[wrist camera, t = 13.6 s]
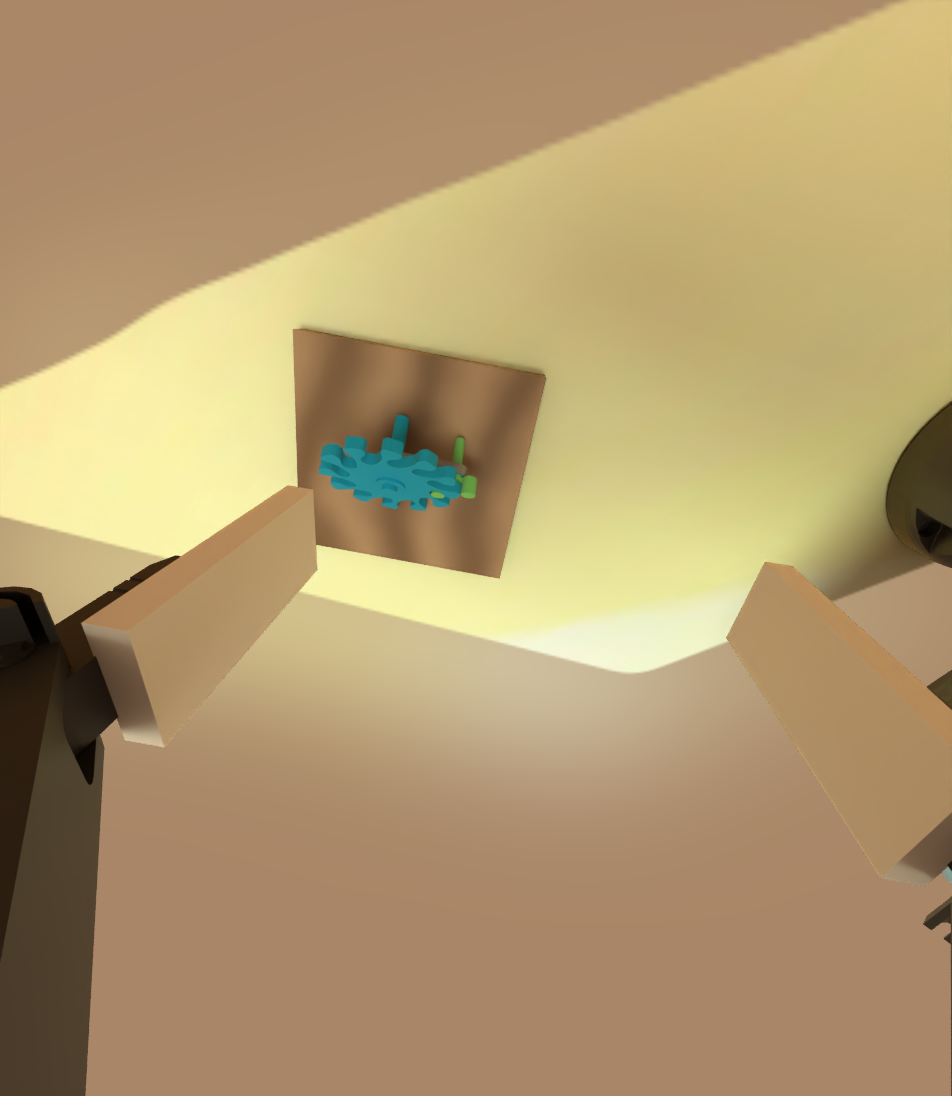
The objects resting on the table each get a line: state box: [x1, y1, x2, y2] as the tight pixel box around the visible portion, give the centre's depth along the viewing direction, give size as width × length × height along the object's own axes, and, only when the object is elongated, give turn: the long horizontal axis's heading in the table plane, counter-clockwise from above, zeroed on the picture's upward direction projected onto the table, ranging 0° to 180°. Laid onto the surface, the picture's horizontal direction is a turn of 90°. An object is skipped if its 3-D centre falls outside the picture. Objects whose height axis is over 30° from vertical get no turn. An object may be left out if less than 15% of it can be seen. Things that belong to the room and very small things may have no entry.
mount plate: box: [293, 329, 546, 578], centre depth 35 cm, size 18×17×2 cm
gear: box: [318, 415, 477, 511], centre depth 31 cm, size 11×6×10 cm
